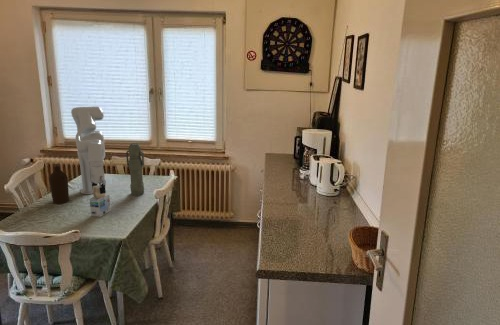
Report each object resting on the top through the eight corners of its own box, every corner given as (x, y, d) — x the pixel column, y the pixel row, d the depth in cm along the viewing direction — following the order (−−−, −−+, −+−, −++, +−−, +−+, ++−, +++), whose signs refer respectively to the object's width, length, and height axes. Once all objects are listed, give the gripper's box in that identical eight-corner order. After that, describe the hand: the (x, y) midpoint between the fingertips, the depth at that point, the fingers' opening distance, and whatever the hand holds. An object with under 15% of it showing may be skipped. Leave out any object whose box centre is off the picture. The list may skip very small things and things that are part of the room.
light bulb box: (100, 217, 216) (99, 199, 214) (90, 216, 218) (88, 198, 215) (111, 210, 226) (109, 193, 224) (101, 209, 228) (99, 192, 225)
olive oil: (73, 198, 245) (68, 162, 239) (65, 204, 235) (61, 166, 229) (56, 198, 245) (52, 162, 239) (48, 204, 235) (43, 166, 228)
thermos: (144, 195, 253) (141, 145, 244) (127, 195, 252) (123, 145, 243) (147, 191, 261) (144, 142, 252) (131, 191, 261) (127, 142, 252)
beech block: (93, 196, 219) (92, 186, 218) (101, 194, 223) (100, 184, 221) (97, 198, 216) (96, 188, 214) (105, 196, 219) (104, 186, 218)
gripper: (83, 161, 217) (86, 189, 222) (96, 167, 206) (99, 196, 210) (95, 159, 223) (98, 186, 227) (109, 164, 211) (112, 193, 216)
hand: (99, 191), depth 219 cm, fingers open, 9 cm apart
